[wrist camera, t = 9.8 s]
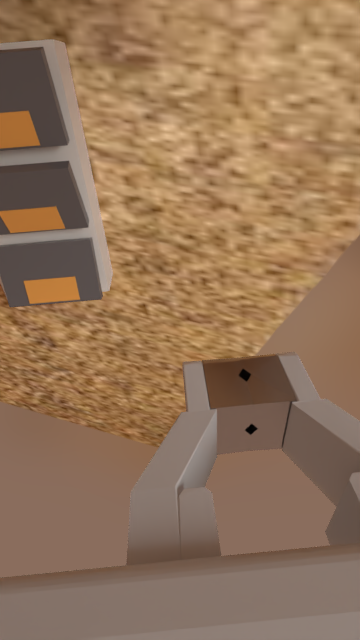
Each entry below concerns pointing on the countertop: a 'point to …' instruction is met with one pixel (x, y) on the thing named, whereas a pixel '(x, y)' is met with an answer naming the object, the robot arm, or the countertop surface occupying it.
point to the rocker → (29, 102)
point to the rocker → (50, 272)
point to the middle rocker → (40, 198)
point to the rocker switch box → (71, 153)
